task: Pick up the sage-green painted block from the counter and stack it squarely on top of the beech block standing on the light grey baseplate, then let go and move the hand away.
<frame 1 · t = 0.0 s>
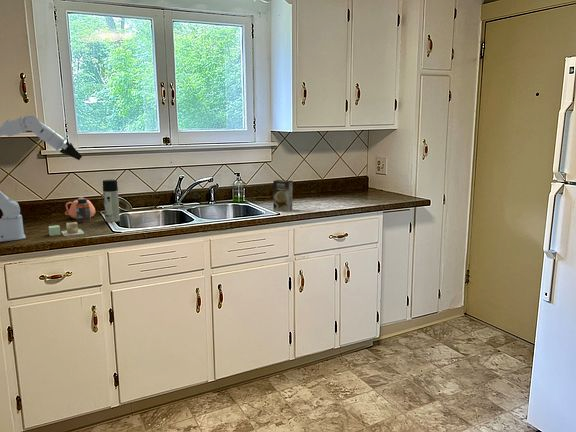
hand: (79, 157, 207), 32 cm above the worktop, tool tilted 50°, fingers open, 7 cm apart
sugar bowl: (80, 218, 240), on the worktop
spray can: (112, 221, 232), on the worktop
supplement bottle: (84, 222, 231), on the worktop
baseplate: (72, 233, 208), on the worktop
sage brick: (55, 235, 204), on the worktop
coffee box: (282, 210, 260), on the worktop
beech brick: (72, 232, 208), resting on baseplate
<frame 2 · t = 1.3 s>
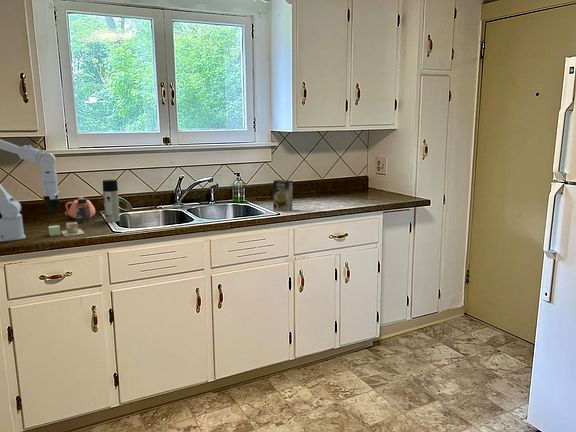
hand: (52, 213, 202), 9 cm above the worktop, tool pointing down, fingers open, 7 cm apart
nothing on the worktop moved.
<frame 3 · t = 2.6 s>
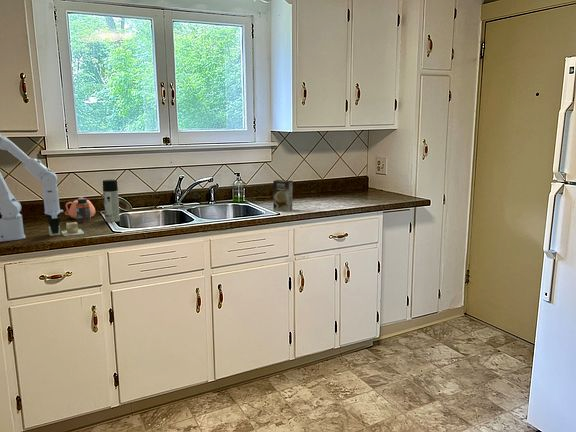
hand: (54, 232, 204), 1 cm above the worktop, tool pointing down, fingers closed on sage brick, 4 cm apart
sage brick: (55, 235, 204), on the worktop, touching gripper
everything else where it was.
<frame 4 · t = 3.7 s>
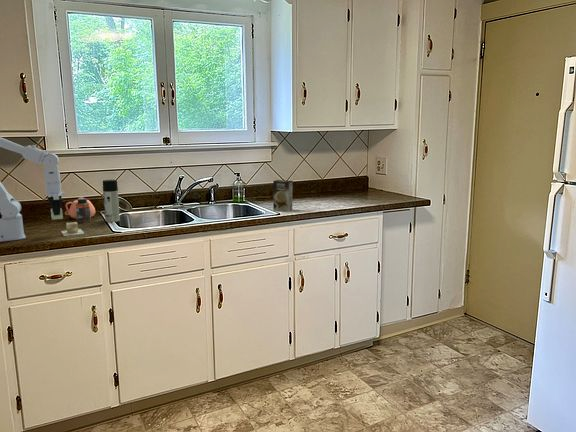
hand: (56, 214, 203), 9 cm above the worktop, tool pointing down, fingers closed on sage brick, 4 cm apart
sage brick: (57, 218, 203), point 7 cm above the worktop, touching gripper
everything else where it was.
when the fingers open (7 cm above the worktop, at t = 5.0 s): sage brick stays where it is, resting on beech brick.
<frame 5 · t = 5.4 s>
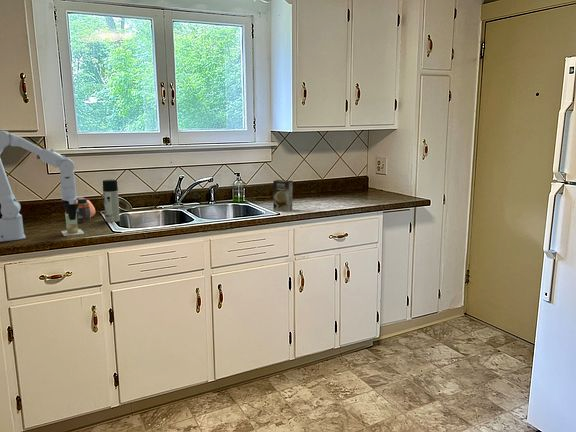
hand: (71, 218, 206), 7 cm above the worktop, tool pointing down, fingers open, 7 cm apart
sage brick: (71, 223, 207), point 4 cm above the worktop, touching beech brick
beech brick: (72, 232, 208), resting on baseplate, touching sage brick
everything else where it was.
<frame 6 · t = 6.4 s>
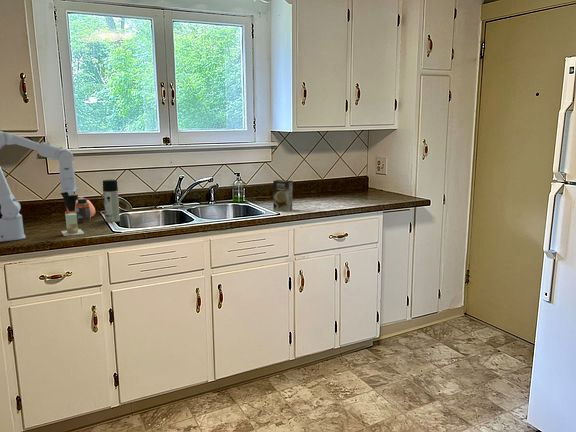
hand: (70, 209, 206), 10 cm above the worktop, tool pointing down, fingers open, 7 cm apart
nothing on the worktop moved.
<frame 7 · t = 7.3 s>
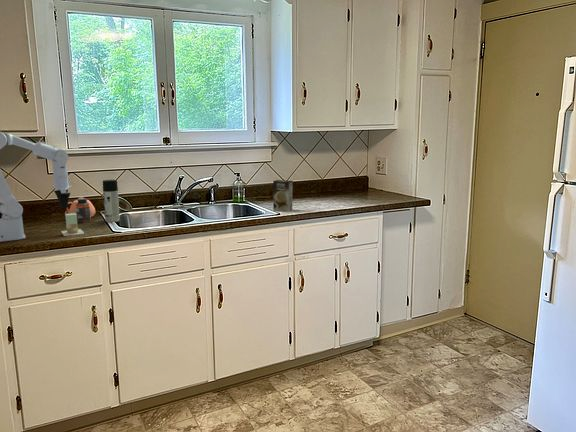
hand: (63, 207, 212), 10 cm above the worktop, tool pointing down, fingers open, 7 cm apart
nothing on the worktop moved.
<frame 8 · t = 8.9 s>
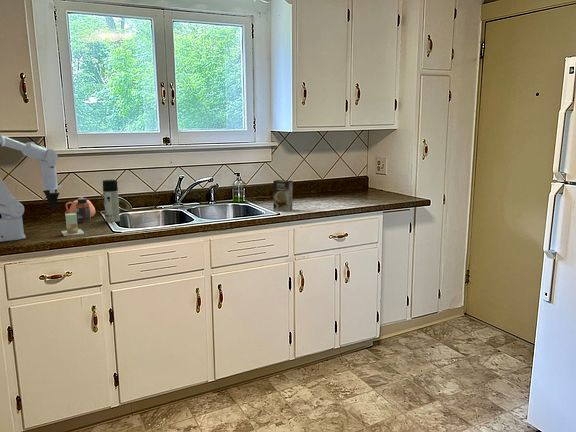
hand: (52, 207, 212), 10 cm above the worktop, tool pointing down, fingers open, 7 cm apart
nothing on the worktop moved.
at the end: sage brick 0.1 cm off-centre on the beech brick, point 4.0 cm above the beech brick's base; sage brick tilted 0°; the gripper is holding nothing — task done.
